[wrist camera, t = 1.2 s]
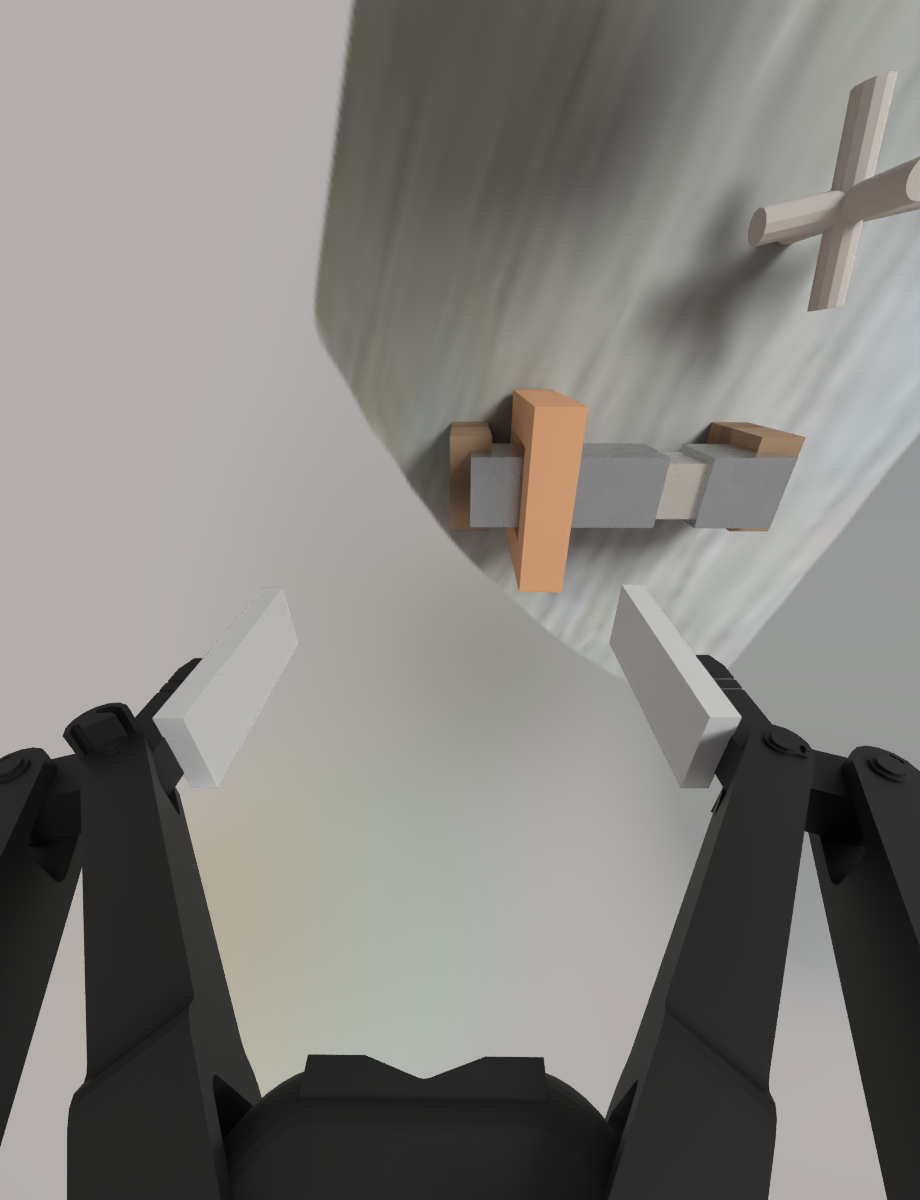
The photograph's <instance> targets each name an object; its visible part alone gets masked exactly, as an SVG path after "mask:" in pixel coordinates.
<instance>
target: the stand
mask: <svg viewBox="0 0 920 1200" xmlns="http://www.w3.org/2000/svg"><path fill="white" fill-rule="evenodd" d="M805 438H806V437H802V436H799V435H795V434H791V433H787V432H783V431H779V430H775V429H771V428H767V427H763V426H759V425H755V424H751V423H735V422H712V424H711V428H710V431H709V435H708V438H707V441H706V444H736V445H739V446H742V447H744V448H747V449H750V450H753V451H756V452H780V453H783V454H786V455H789V456H792V457H795V458H797V457H798V455H799V452H800V450H801V448H802V445H803V443H804V440H805ZM471 451H492V435H491V431H490V428H489V425H488V422H452V426H451V432H450V507H451V530H489V527H470V467H471ZM726 529H727V530H729V531H768V529H769V528H726Z"/></svg>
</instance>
